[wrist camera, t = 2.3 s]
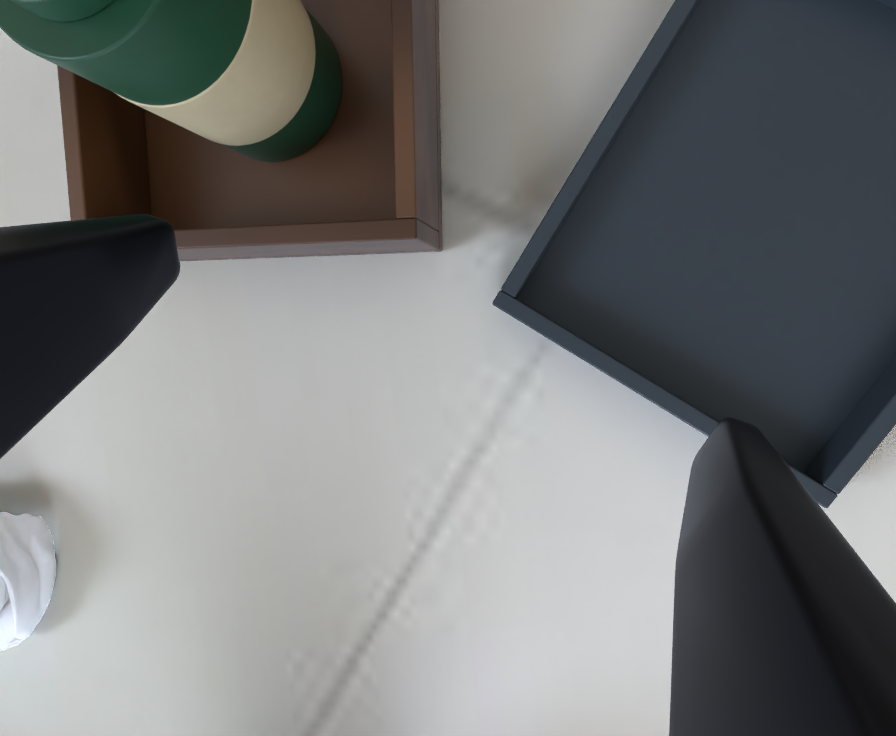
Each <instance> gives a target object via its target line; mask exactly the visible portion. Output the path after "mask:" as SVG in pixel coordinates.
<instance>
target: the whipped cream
mask: <svg viewBox="0 0 896 736" xmlns="http://www.w3.org/2000/svg"><path fill="white" fill-rule="evenodd" d="M56 568H57V566H56V559H55V554H54V541H53V538H52V536H51V532H50V530H49V528H48V526H47V524H46V523H45V521H44V520H43V519H42V517H41V516H40V515H37V516H32V515H30V514H27V513H24V514H21V515H18V516H15V515H12V514H10V513H7V512H0V651H4V650H6V649H9V648H11V647H13V646H16V645H18V644H20V643H21V642H22V641H23V640H24V639H26V638H28V637H29V636H30V635H31V633H32V632H33V630H34V629H35V627H36V626H37V624H38V623H39V622H40V620H41V618H42V617H43V615H44V613H45V611H46V610H47V608H48V605H49V603H50V601H51V597H52V591H53V588H54V583H55V578H56Z"/></svg>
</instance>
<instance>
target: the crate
mask: <svg viewBox="0 0 896 736" xmlns="http://www.w3.org/2000/svg"><path fill="white" fill-rule="evenodd" d="M300 1H301V2H302V4H303V5H304V7H305V8H306V9H307V10H308V11H309V13H310V14H311V15H312V16H313V17H314V18H315V20H316V21H317V22H318V23H319V24H320V25H321V27H322V28H323V29H324V30H325V31H326V33H327V34H328V36H329V37H330V39H331V40H332V42H333V44H334V46H335V49H336V51H337V54H338V57H339V60H340V66H341V72H342V92H341V98H340V103H339V106H338V110H337V113H336V115H335V118H334V120H333V122H332V124H331V125H330V127H329V129H328V130H327V132H326V133H325V134H324V136H323V137H322V138H321V139H320V140H319V141H318V142H317V143H316V144H315V145H314V146H313V147H312V148H310V149H309V150H308V151H306V152H305V153H303V154H301V155H299V156H297V157H294V158H292V159H289V160H285V161H279V162H264V161H259V160H255V159H252V158H249V157H247V156H245V155H243V154H241V153H239V152H237V151H235V150H232V149H230V148H228V147H226V146H224V145H222V144H219V143H216V142H214V141H211V140H209V139H206V138H204V137H202V136H200V135H198V134H196V133H194V132H192V131H190V130H188V129H185V128H183V127H181V126H179V125H177V124H175V123H173V122H171V121H169V120H167V119H165V118H162V117H160V116H158V115H156V114H154V113H152V112H150V111H148V110H146V109H144V108H142V107H139V106H137V105H135V104H133V103H131V102H129V101H127V100H125V99H123V98H121V97H120V96H118V95H117V94H115V93H114V92H112V91H110V90H108V89H106V88H104V87H102V86H100V85H98V84H96V83H93V82H91V81H89V80H87V79H85V78H83V77H81V76H79V75H77V74H75V73H73V72H71V71H69V70H67V69H64V68H62V67H60V66H58V65H57V67H58V79H59V90H60V102H61V113H62V125H63V136H64V148H65V159H66V171H67V182H68V194H69V205H70V217H71V221H73V220H83V219H93V218H104V217H114V216H125V215H135V214H149V215H152V216H155V217H158V218H160V219H163V220H166V221H168V222H169V223H170V224H171V225H172V227H173V229H174V232H175V238H176V244H177V250H178V256H179V261H196V260H223V259H250V258H277V257H304V256H331V255H359V254H386V253H413V252H440V251H442V200H441V137H440V75H439V13H438V0H300Z"/></svg>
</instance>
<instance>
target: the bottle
mask: <svg viewBox="0 0 896 736" xmlns="http://www.w3.org/2000/svg"><path fill="white" fill-rule="evenodd" d="M0 27H1V29H2V30H3V31H4V32H5V33H6V34H7V35H8V36H9V37H10V38H11V39H12V40H14V41H15V42H16V43H18V44H19V45H20V46H22V47H23V48H24V49H26V50H28V51H30V52H32V53H34V54H36V55H37V56H40V57H42V58H44V59H46V60H48V61H50V62H52V63H54V64H56V65H58V66H60V67H62V68H64V69H67V70H69V71H71V72H73V73H75V74H77V75H79V76H81V77H83V78H85V79H87V80H89V81H91V82H93V83H96V84H98V85H100V86H102V87H104V88H106V89H108V90H110V91H112V92H114V93H115V94H117V95H118V96H120V97H121V98H123V99H125V100H127V101H129V102H131V103H133V104H135V105H137V106H139V107H142V108H144V109H146V110H148V111H150V112H152V113H154V114H156V115H158V116H160V117H162V118H165V119H167V120H169V121H171V122H173V123H175V124H177V125H179V126H181V127H183V128H185V129H188V130H190V131H192V132H194V133H196V134H198V135H200V136H202V137H204V138H206V139H209V140H211V141H214V142H216V143H219V144H222V145H224V146H226V147H228V148H230V149H232V150H235V151H237V152H239V153H241V154H243V155H245V156H247V157H249V158H252V159H255V160H259V161H264V162H279V161H285V160H289V159H292V158H294V157H297V156H299V155H301V154H303V153H305V152H306V151H308V150H309V149H310V148H312V147H313V146H314V145H315V144H316V143H317V142H318V141H319V140H320V139H321V138H322V137H323V136H324V134H325V133H326V132H327V130H328V129H329V127H330V125H331V124H332V122H333V120H334V118H335V115H336V113H337V110H338V106H339V103H340V98H341V92H342V72H341V66H340V60H339V57H338V54H337V51H336V49H335V46H334V44H333V42H332V40H331V39H330V37H329V36H328V34H327V33H326V31H325V30H324V29H323V28H322V27H321V25H320V24H319V23H318V22H317V21H316V20H315V18H314V17H313V16H312V15H311V14H310V13H309V11H308V10H307V9H306V8H305V7H304V5H303V4H302V2H301V1H300V0H0Z"/></svg>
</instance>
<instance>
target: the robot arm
mask: <svg viewBox="0 0 896 736" xmlns="http://www.w3.org/2000/svg"><path fill="white" fill-rule="evenodd" d="M179 272H180V262H179V256H178V250H177V244H176V238H175V232H174V229H173V227H172V225H171V224H170V223H169V222H168V221H166V220H163V219H160V218H158V217H155V216H152V215H149V214H135V215H125V216H114V217H104V218H93V219H83V220H73V221H62V222H52V223H41V224H31V225H21V226H10V227H0V459H1V458H2V457H3V456H4V455H5V454H6V453H7V452H8V451H9V450H10V449H11V448H12V447H13V446H14V445H15V444H16V443H17V442H18V441H20V440H21V439H22V438H23V437H24V436H25V435H26V434H27V433H28V432H29V431H30V430H31V429H32V428H33V427H34V426H35V425H36V424H37V423H38V422H40V421H41V420H42V419H43V418H44V417H45V416H46V415H47V414H48V413H49V412H50V411H51V410H52V409H53V408H54V407H55V406H56V405H57V404H59V403H60V402H61V401H62V400H63V399H64V398H65V397H66V396H67V395H68V394H69V393H70V392H71V391H72V390H73V389H74V388H75V387H76V386H77V385H79V384H80V383H81V382H82V381H83V380H84V379H85V378H86V377H87V376H88V375H89V374H90V373H91V372H92V371H93V370H94V369H95V368H96V367H97V366H99V365H100V364H101V363H102V362H103V361H104V360H105V359H106V358H107V357H108V356H109V355H110V354H111V353H112V352H113V351H114V350H115V349H116V348H117V347H118V346H119V345H120V344H121V343H122V342H123V341H124V340H125V339H126V338H127V337H128V336H129V334H130V333H131V332H132V331H133V330H134V329H135V328H136V326H137V325H138V324H139V323H140V322H141V320H142V319H143V318H144V317H145V316H146V315H147V313H148V312H149V311H150V310H151V309H152V308H153V306H154V305H155V304H156V303H157V302H158V301H159V299H160V298H161V297H162V296H163V295H164V294H165V292H166V291H167V290H168V289H169V288H170V287H171V285H172V284H173V283H174V282H175V281H176V279H177V277H178V275H179ZM669 736H896V603H895V602H894V600H893V599H892V598H891V597H890V595H889V594H888V593H887V592H886V590H885V589H884V588H883V586H882V585H881V584H880V583H879V581H878V580H877V579H876V577H875V576H874V575H873V574H872V572H871V571H870V570H869V569H868V567H867V566H866V565H865V563H864V562H863V561H862V560H861V558H860V557H859V556H858V555H857V553H856V552H855V551H854V549H853V548H852V547H851V546H850V544H849V543H848V542H847V540H846V539H845V538H844V537H843V535H842V534H841V533H840V532H839V530H838V529H837V528H836V526H835V525H834V524H833V523H832V521H831V520H830V519H829V517H828V516H827V515H826V514H825V512H824V511H823V510H822V509H821V507H820V506H819V505H818V503H817V502H816V501H815V500H814V498H813V497H812V496H811V495H810V493H809V492H808V491H807V489H806V488H805V487H804V486H803V484H802V483H801V482H800V480H799V479H798V478H797V477H796V475H795V474H794V473H793V472H792V470H791V469H790V468H789V466H788V465H787V464H786V463H785V461H784V460H783V459H782V458H781V456H780V455H779V454H778V452H777V451H776V450H775V449H774V447H773V446H772V445H771V443H770V442H769V441H768V440H767V438H766V437H765V436H764V435H763V433H762V432H761V431H760V430H759V428H758V427H756V426H755V425H752V424H749V423H746V422H744V421H741V420H738V419H735V418H732V417H726V418H724V419H723V420H721V421H720V422H719V423H718V425H717V426H716V428H715V429H714V430H713V432H712V433H711V435H710V436H709V437H708V439H707V440H706V442H705V443H704V445H703V446H702V447H701V449H700V450H699V452H698V453H697V455H696V457H695V459H694V461H693V464H692V468H691V473H690V479H689V485H688V491H687V496H686V502H685V508H684V514H683V520H682V526H681V532H680V538H679V544H678V551H677V558H676V570H675V591H674V619H673V647H672V674H671V702H670V730H669Z"/></svg>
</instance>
